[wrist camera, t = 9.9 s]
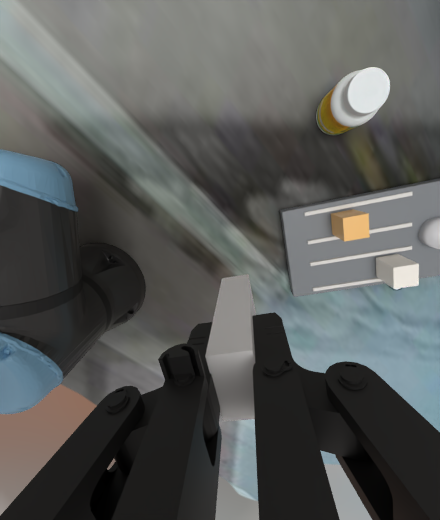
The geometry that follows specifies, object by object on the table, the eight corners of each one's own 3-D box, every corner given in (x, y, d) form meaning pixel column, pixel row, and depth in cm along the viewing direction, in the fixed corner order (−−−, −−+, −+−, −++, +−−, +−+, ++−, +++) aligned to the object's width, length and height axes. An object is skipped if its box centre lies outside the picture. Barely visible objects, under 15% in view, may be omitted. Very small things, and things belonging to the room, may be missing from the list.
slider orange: (332, 234, 36) (344, 241, 32) (330, 213, 35) (342, 218, 31) (354, 230, 36) (369, 237, 31) (353, 209, 35) (368, 213, 30)
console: (291, 290, 42) (296, 302, 38) (279, 210, 38) (284, 213, 34) (442, 267, 39) (466, 278, 34) (446, 176, 35) (474, 176, 31)
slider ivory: (376, 276, 37) (393, 288, 33) (375, 257, 36) (393, 267, 32) (398, 273, 37) (418, 285, 33) (398, 253, 36) (418, 263, 32)
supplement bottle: (340, 81, 33) (378, 43, 24) (364, 114, 33) (410, 89, 24) (306, 114, 34) (329, 90, 25) (330, 145, 35) (361, 132, 26)
